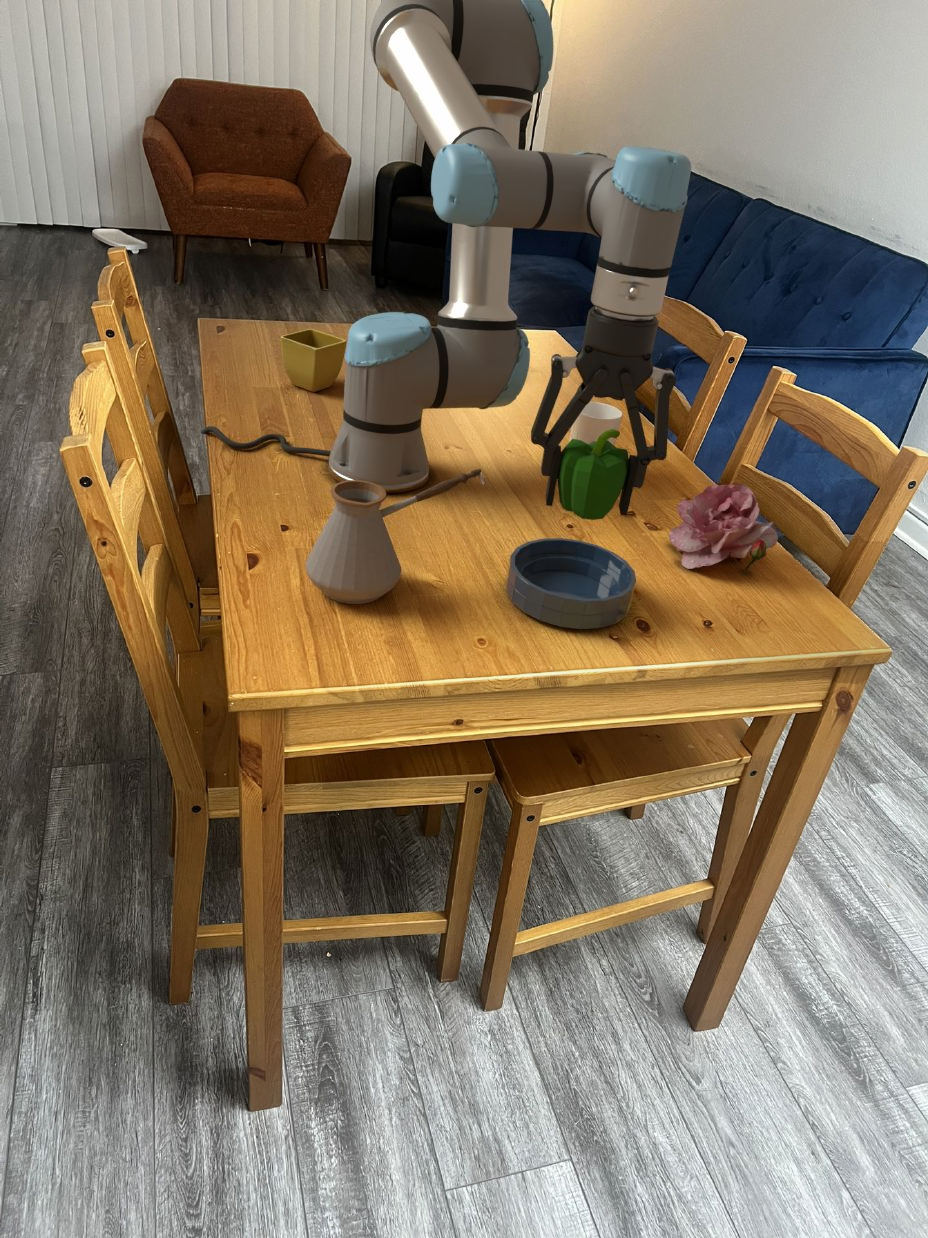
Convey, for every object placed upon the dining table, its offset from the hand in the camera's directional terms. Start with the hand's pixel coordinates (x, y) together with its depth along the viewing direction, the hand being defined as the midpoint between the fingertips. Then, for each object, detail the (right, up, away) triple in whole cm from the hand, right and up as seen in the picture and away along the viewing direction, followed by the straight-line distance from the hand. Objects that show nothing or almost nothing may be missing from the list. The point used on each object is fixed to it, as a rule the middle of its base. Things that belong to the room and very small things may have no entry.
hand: (585, 505), depth 112 cm
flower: (+21, -5, +22) cm, 31 cm away
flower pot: (-42, +29, +62) cm, 81 cm away
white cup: (+6, +11, +44) cm, 46 cm away
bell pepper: (0, -1, +1) cm, 1 cm away
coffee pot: (-23, -9, +5) cm, 26 cm away
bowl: (-1, -11, +7) cm, 13 cm away
